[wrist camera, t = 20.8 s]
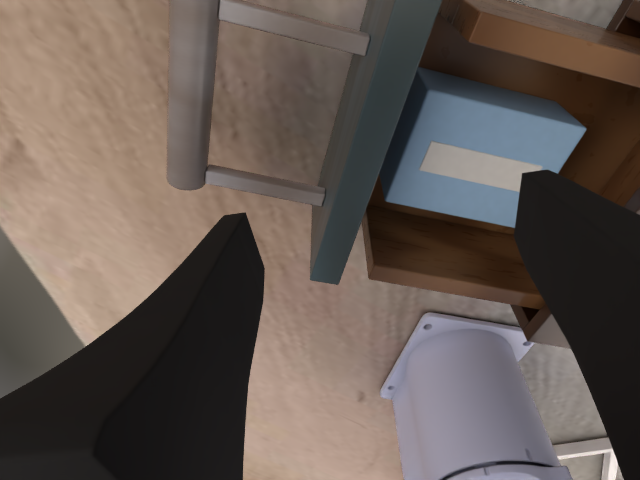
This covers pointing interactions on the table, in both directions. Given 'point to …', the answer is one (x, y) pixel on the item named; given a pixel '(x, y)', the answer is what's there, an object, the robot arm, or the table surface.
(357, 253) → the table surface
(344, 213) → the drawer
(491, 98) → the tissue pack
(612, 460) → the photo frame
